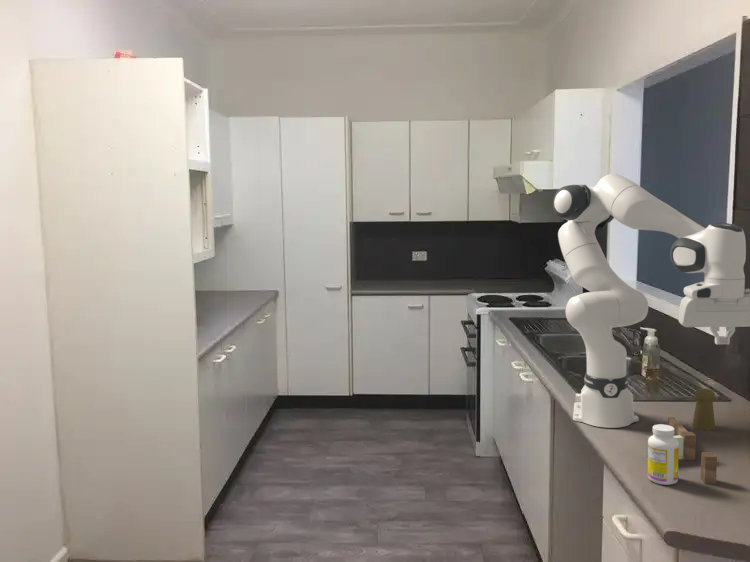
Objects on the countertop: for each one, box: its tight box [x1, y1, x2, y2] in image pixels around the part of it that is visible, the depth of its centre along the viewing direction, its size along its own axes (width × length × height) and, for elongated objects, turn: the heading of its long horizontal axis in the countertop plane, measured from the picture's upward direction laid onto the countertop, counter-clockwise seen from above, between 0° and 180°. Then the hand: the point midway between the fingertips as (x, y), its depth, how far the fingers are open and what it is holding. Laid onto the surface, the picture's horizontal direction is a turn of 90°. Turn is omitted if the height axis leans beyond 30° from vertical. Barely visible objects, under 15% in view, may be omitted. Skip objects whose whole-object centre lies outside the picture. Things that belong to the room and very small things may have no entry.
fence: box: [667, 416, 718, 485], centre depth 167 cm, size 28×2×6 cm, turn 173°
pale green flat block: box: [645, 435, 683, 459], centre depth 167 cm, size 9×2×6 cm, turn 100°
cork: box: [691, 388, 716, 432], centre depth 189 cm, size 6×6×11 cm
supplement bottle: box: [647, 423, 680, 486], centre depth 156 cm, size 7×7×13 cm
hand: (722, 344), depth 166 cm, fingers closed
